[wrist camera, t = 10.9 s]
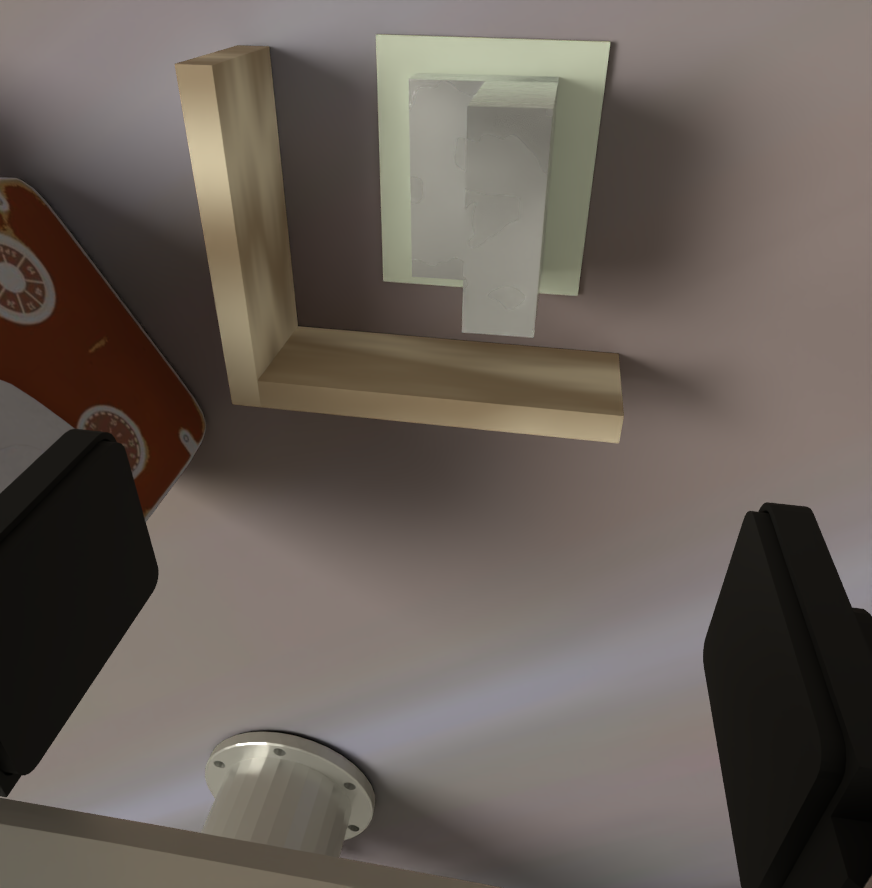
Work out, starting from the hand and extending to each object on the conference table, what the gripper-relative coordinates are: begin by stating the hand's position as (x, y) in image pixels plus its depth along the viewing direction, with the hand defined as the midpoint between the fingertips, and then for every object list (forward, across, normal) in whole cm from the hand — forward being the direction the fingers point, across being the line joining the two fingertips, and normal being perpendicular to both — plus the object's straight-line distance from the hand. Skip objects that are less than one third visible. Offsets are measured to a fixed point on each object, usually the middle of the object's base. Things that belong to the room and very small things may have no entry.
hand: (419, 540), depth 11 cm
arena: (+20, +2, +2) cm, 20 cm away
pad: (+20, +1, 0) cm, 20 cm away
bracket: (+20, +1, 0) cm, 20 cm away
